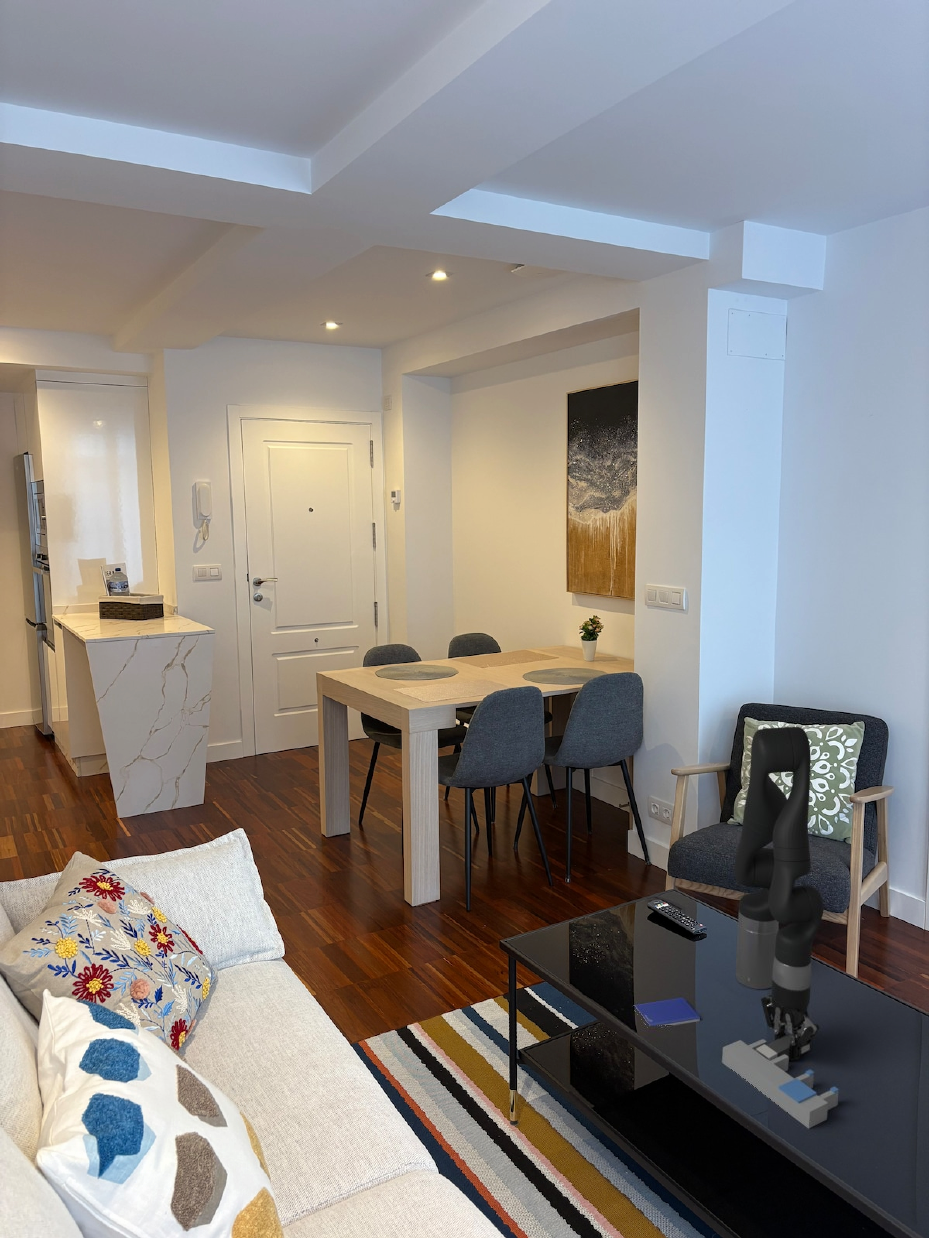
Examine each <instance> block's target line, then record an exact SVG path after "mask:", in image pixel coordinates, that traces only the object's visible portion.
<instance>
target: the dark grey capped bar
mask: <svg viewBox="0 0 929 1238" xmlns="http://www.w3.org/2000/svg"><path fill="white" fill-rule="evenodd" d="M803 1033H804V1031H803V1032H802V1035H803ZM796 1038H797V1036H796ZM810 1044H811V1043H810ZM810 1044H809V1045H806V1046H804V1047H802V1048H801V1053H800V1055H803V1054H804V1053H806V1052H808V1051H810V1048H811V1047H810V1046H811V1045H810ZM756 1052H758V1053H759V1054H761V1055H762V1056H763V1057H765V1058H766V1059H768V1060H769V1061H771V1060H773V1059H775V1058H777V1057H780V1056H782V1055H784V1054H785V1055H787V1056H788V1057H789V1053H790V1034H789V1033H788V1032H787V1033H786V1035H785V1036H783V1037H782V1038H780V1039H777V1040H775V1039H774V1041H772V1042H770V1043H769V1044H768V1043H767V1045H765V1044H764V1045H762V1046H760V1047H758V1048H757V1049H756ZM789 1061H791V1060H790V1059H789Z"/></svg>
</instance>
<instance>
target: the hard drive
mask: <svg viewBox="0 0 929 1238" xmlns="http://www.w3.org/2000/svg"><path fill="white" fill-rule="evenodd" d="M633 1006H635V1007H636V1009H637V1010H638V1011H639V1013H641V1015H642V1016H643V1018H644V1019H645V1021H646V1022H647V1023H648V1024H649V1026H656V1025H657V1026H658V1025H659V1026H660V1025H661V1026H662V1025H665V1026H666V1025H673V1026H679V1025H683V1024H689V1023H695V1022H700V1021H701V1017H700V1015H699V1013H697V1012H696V1010H695V1009H694V1008H693V1006H691V1005H690V1003H688V1001H687V1000H686V999H685V997H677V998H672V999H671V998H670V999H666V1000H658V1001H652V1002H645V1003H638V1004H633Z"/></svg>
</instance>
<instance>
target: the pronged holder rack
mask: <svg viewBox="0 0 929 1238" xmlns="http://www.w3.org/2000/svg"><path fill="white" fill-rule="evenodd" d="M764 1044H765V1045H768V1042H767V1040H765V1039H764V1038H763V1039H760V1040H757V1041H756V1042H755V1041H754V1042H753V1043H751V1044H747V1043H746V1042H744V1041H743V1040H741V1039H740V1040H737V1041H735V1042H732V1043H730V1044H727V1045H725V1046H723V1047H722V1058H721V1063H722V1064H724V1065H725V1066H726V1068H728V1069H730V1070H731V1069H732V1070H733V1071H732V1070H731V1071H732V1072H734V1071H735V1072H736V1073H737V1074H736V1073H735V1072H734V1073H735V1074H736V1075H738V1074H739V1075H740V1076H741V1077H740V1076H739V1075H738V1076H739V1077H740V1078H741V1079H743V1078H744V1079H746V1080H745V1082H747V1081H748V1082H749V1083H750V1085H751V1084H752V1085H753V1086H754V1087H753V1086H752V1085H751V1086H752V1087H753V1088H755V1087H756V1088H757V1089H758V1090H757V1089H756V1088H755V1089H756V1090H757V1091H759V1092H760V1091H761V1092H762V1093H761V1092H760V1093H761V1094H763V1096H765V1095H766V1096H765V1097H766V1098H768V1099H769V1098H770V1099H771V1100H770V1099H769V1100H770V1101H771V1102H772V1103H774V1102H775V1103H774V1104H776V1105H777V1106H778V1105H779V1106H778V1107H780V1108H781V1109H782V1110H783V1111H785V1112H786V1113H787V1112H788V1114H789V1116H791V1117H793V1119H795V1120H797V1121H798V1122H800V1123H801V1124H802V1125H803V1126H804V1127H806V1128H807V1129H808V1130H810V1129H811V1128H812V1127H814V1126H817V1125H819V1124H821V1123H822V1122H824V1121H827V1119H828V1111H830V1110H831V1109H833V1108H835V1107H837V1106H838V1101H839V1091H840V1089H839V1088H837V1087H836V1086H832V1087H830V1088H829V1089H830V1090H827V1091H826V1092H824V1093H822V1094H819V1095H818V1093H817V1091H815V1090H813V1088H814V1078H815V1077H814V1075H815V1071H813V1070H812V1069H808V1070H806V1071H805V1073H804V1074H803V1073H802V1074H801V1075H799V1076H797V1077H795V1078H794V1077H793V1076H792V1075H790V1074H788V1073H787V1071H789V1061H790V1060H789V1057H788V1056H787V1055H785V1054H784V1055H782V1056H780V1057H777V1058H775V1059H773V1060H771V1061H769V1060H768V1059H766V1058H765V1057H763V1056H762V1055H761V1054H759V1053H758V1052H756V1049H757V1048H758V1047H760V1046H762V1045H764ZM744 1079H743V1080H744ZM748 1082H747V1083H748ZM749 1083H748V1084H749Z"/></svg>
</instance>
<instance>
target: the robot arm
mask: <svg viewBox="0 0 929 1238" xmlns="http://www.w3.org/2000/svg"><path fill="white" fill-rule="evenodd" d="M811 756H812V755H811V745H810V740H809V736H808V735H807V732H806V731H805V730H804V728H802V727H799V726H784V727H767V728H761V729H758V730H756V731H755V732H754V733H753V737H752V739H751V749H750V766H749V767H750V768H749V782H748V788H747V794H746V798H745V803H744V810H743V818H742V825H741V827H742V828H741V835H740V838H739V839H740V840H739V843H738V847H737V850H736V852H735V853H736V854H735V857H734V858H735V859H734V866H733V868H734V871H733V872H734V877H735V879H736V881H737V883H738V884H740V885H741V886H743V887H749V888H761V889H759V890H756V891H753V892H749V893H747V894H744V895H743V896H742V897H741V898H740V900H739V902H738V920H737V923H738V925H737V940H736V941H737V943H736V959H735V960H736V961H735V979H736V980H737V981H738V982H739V983H740V984H741V985H743V986H745V987H748V988H751V989H755V990H767V989H770V988H771V994H769V995H766V996H763V997H762V998H761V999H760V1001H761V1004H762V1005H761V1006H762V1008H763V1009H762V1011H763V1014H764V1017H765V1020H766V1021H765V1022H766V1024H767V1027H768V1028H772V1030H773V1033H774V1041H775V1040H777V1039H780V1038H782V1037H783V1036H785V1035H786V1034H788V1033H789V1034H790V1053H789V1059H790V1060H789V1061H791V1062H794V1061H796V1060H798V1059H800V1058H801V1048H802V1047H804V1046H806V1045H809V1044H812V1041H813V1040H814V1038H815V1037H816V1035H817V1033H818V1032H819V1030H820V1026H819V1024H817V1023H814V1024H813V1022H812V1021H811V1020H810V1018H809V1017H810V1016H809V1013H808V1008H809V1004H810V999H811V986H812V985H811V984H812V964H811V963H812V947H813V946H812V945H813V942H814V940H815V938H816V935H817V932H818V929H819V927H820V924H821V922H822V919H823V916H824V900H823V897H822V895H821V893H820V892H819V890H818V889H817V888H815V887H814V886H811V885H807V884H805V885H796V886H795V883H796V881H797V880H798V879H800V878H801V877H803V876H805V875H808V874H809V873H810V872H811V868H812V866H811V865H812V864H811V852H810V849H811V848H810V839H809V810H810V809H809V808H810V807H809V806H810V793H811V791H810V790H811V789H810V787H811V786H810V785H811V767H812V766H811V759H812V758H811ZM775 773H778V774H779V773H780V774H781V773H792V782H791V788H790V792H789V795H788V797H787V796H786V795H785V793H784V792H783V790H782V789H781V788H780V787H779V786H778V785H777V784H776V782H775V781H774V780H773V779H772V778H771V777H770V774H775ZM771 843H772V848H769V847H768V848H767V847H766V846H767V845H769V844H771ZM779 924H781V925H786V926H784V927H782V928H779ZM786 1031H787V1033H786ZM803 1031H804V1033H803V1035H802V1032H803ZM796 1036H797V1038H796Z"/></svg>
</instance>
